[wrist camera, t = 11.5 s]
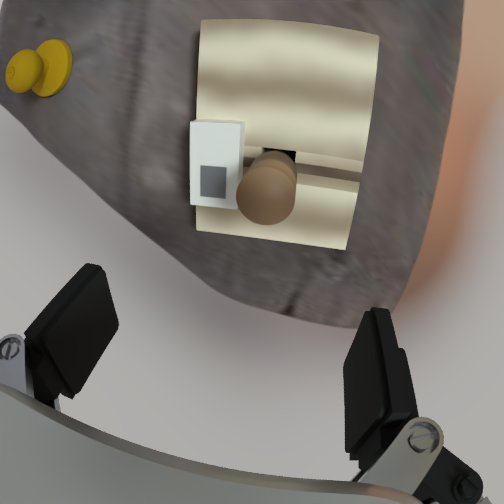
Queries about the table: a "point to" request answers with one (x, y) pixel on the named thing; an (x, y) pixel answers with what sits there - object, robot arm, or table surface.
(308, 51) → the cream slotted tray
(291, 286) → the table surface
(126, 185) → the table surface
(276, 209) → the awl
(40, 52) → the doorknob
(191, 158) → the block
